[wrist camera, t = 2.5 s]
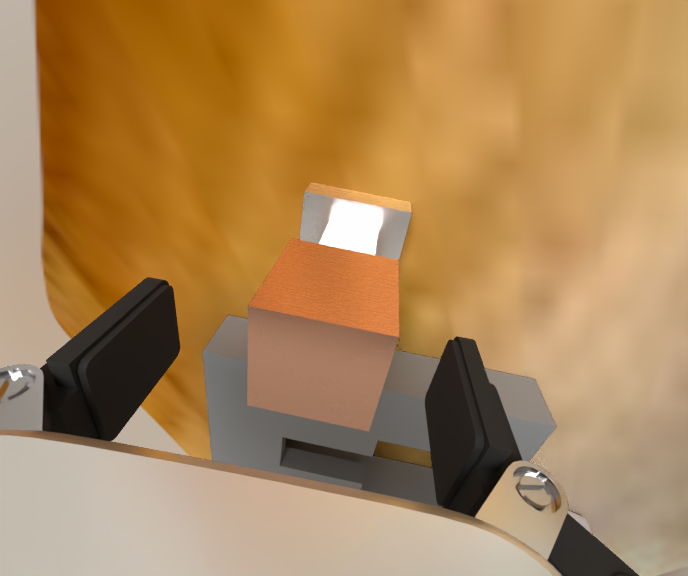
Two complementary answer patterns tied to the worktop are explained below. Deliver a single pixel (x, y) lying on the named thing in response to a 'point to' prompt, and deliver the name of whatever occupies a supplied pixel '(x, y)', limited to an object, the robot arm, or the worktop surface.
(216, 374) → the keyhole plate
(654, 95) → the worktop surface
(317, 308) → the peg
